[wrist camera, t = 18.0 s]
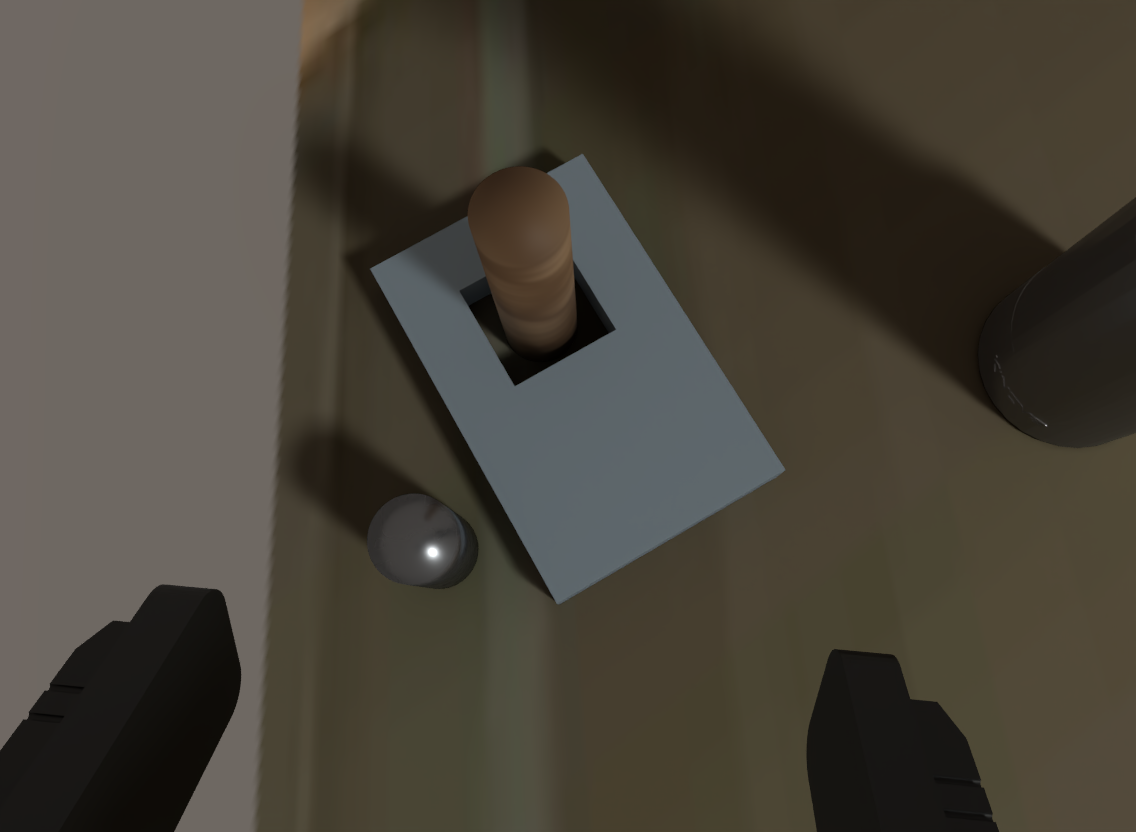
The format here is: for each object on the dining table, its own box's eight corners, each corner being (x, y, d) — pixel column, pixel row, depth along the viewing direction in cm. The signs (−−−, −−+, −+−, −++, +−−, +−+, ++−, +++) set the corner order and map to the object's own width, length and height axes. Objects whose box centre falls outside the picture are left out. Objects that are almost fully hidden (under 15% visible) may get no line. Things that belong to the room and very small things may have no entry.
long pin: (554, 279, 49) (537, 149, 35) (591, 339, 48) (588, 229, 34) (491, 314, 48) (449, 196, 35) (527, 374, 48) (498, 278, 34)
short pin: (455, 497, 46) (431, 477, 39) (492, 564, 45) (473, 555, 39) (388, 535, 46) (351, 521, 39) (423, 603, 45) (392, 601, 38)
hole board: (583, 176, 50) (582, 153, 48) (775, 477, 46) (785, 469, 43) (381, 285, 49) (370, 268, 46) (559, 604, 45) (557, 603, 42)
